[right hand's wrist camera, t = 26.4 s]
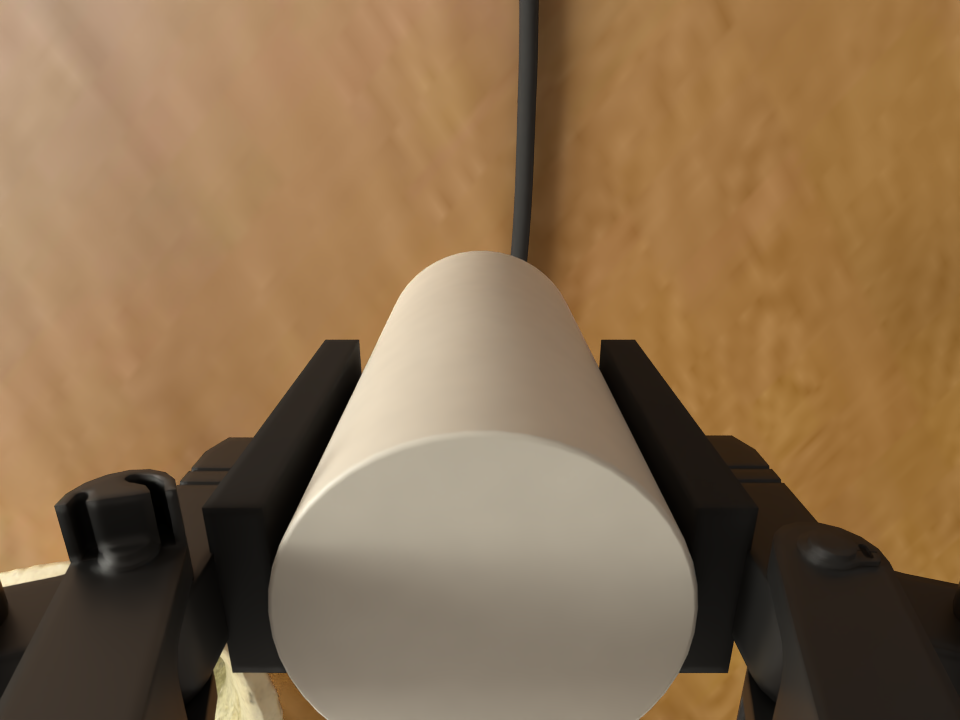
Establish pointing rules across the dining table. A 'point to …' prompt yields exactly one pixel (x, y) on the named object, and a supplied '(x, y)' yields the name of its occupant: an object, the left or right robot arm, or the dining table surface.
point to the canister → (482, 524)
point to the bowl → (241, 696)
